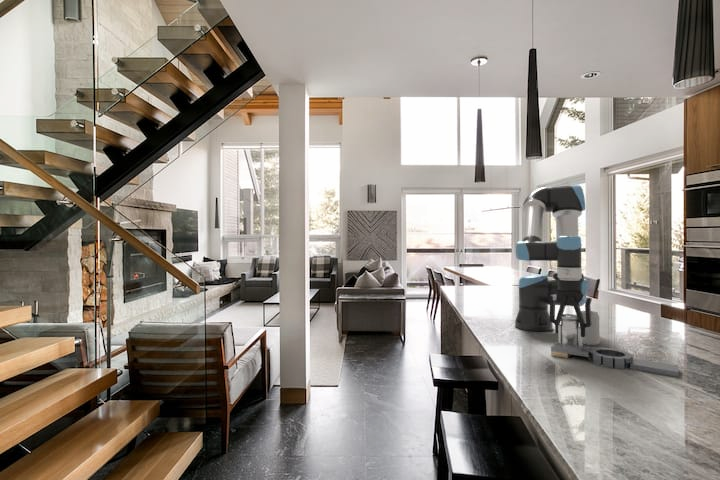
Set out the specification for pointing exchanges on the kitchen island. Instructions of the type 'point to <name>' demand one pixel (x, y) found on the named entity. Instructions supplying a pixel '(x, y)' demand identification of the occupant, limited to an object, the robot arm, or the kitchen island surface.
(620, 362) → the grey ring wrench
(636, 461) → the kitchen island surface
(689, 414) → the kitchen island surface
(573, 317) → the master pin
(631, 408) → the kitchen island surface
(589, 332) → the beverage can
